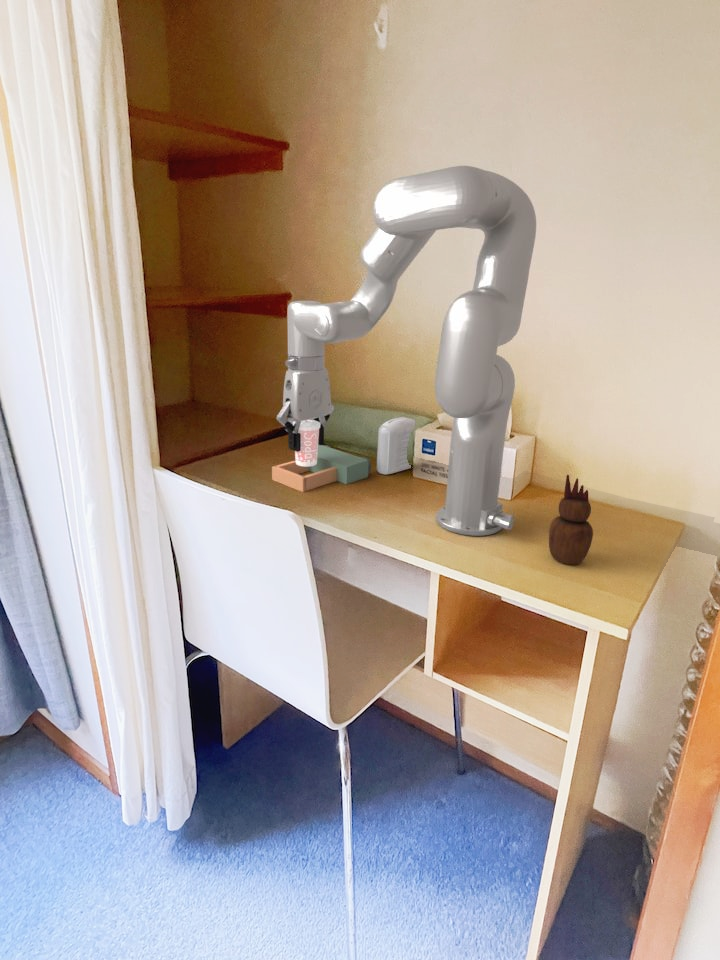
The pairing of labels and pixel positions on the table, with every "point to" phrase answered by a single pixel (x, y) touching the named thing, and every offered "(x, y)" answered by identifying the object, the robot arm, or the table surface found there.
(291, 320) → the robot arm
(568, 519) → the wooden figurine
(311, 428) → the beverage cup
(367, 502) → the table surface
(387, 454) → the photo printer
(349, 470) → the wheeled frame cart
